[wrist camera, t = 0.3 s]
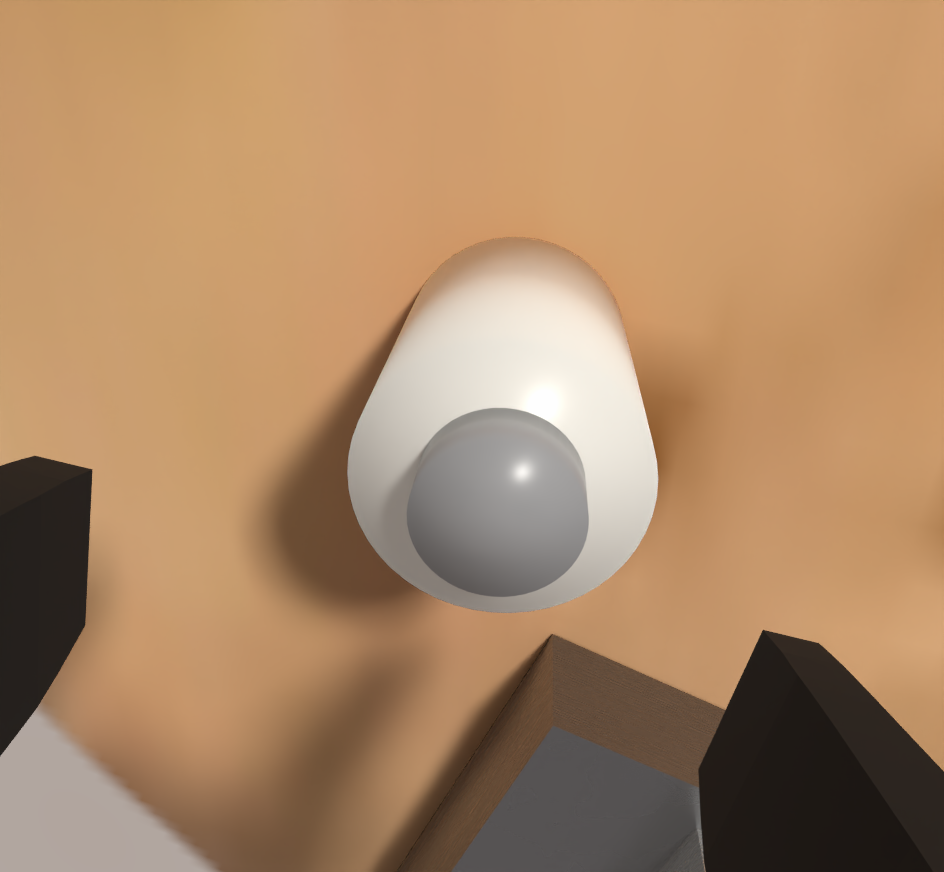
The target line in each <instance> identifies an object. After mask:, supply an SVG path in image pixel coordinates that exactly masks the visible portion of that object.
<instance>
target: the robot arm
mask: <svg viewBox="0 0 944 872" xmlns="http://www.w3.org/2000/svg"><path fill="white" fill-rule="evenodd" d="M91 487H92V469H88V468H84V467H79V466H75V465H71V464H67V463H63V462H59V461H54V460H50V459H46V458H42V457H38V456H32V457H29V458H25V459H21V460H18V461H14V462H11V463H8V464H5V465H2V466H0V755H1V754H2V753H3V752H4V750H5V749H6V748H7V747H8V745H9V744H10V743H11V741H12V740H13V739H14V737H15V736H16V735H17V734H18V732H19V731H20V730H21V728H22V727H23V726H24V724H25V723H26V722H27V720H28V719H29V717H30V716H31V715H32V714H33V712H34V711H35V710H36V708H37V707H38V705H39V704H40V702H41V700H42V699H43V697H44V695H45V694H46V692H47V690H48V689H49V687H50V685H51V684H52V682H53V680H54V679H55V677H56V676H57V674H58V672H59V671H60V669H61V667H62V665H63V664H64V662H65V660H66V658H67V657H68V655H69V653H70V651H71V649H72V648H73V646H74V644H75V642H76V641H77V639H78V637H79V635H80V634H81V632H82V630H83V628H84V627H85V618H86V596H87V574H88V552H89V531H90V509H91ZM698 775H699V796H700V816H701V830H702V843H703V856H704V865H705V870H706V872H944V771H943V770H942V769H941V768H940V767H939V766H938V765H937V764H936V763H935V762H934V761H933V760H932V759H931V758H930V757H929V756H928V754H927V753H926V752H925V751H924V750H923V749H922V748H921V747H920V746H919V745H918V744H917V743H916V742H915V741H914V740H913V739H912V738H911V736H910V735H909V734H908V733H907V732H906V731H905V730H904V729H903V728H902V727H901V726H900V725H899V724H898V723H897V722H896V720H895V719H894V718H893V717H892V716H891V715H890V714H889V713H888V712H887V711H886V710H885V709H884V708H883V707H882V706H881V705H880V704H879V702H878V701H877V700H876V699H875V698H874V697H873V696H872V695H871V694H870V693H869V692H868V691H867V690H866V689H865V688H864V687H863V686H862V685H861V684H860V683H859V682H858V680H857V679H856V678H855V677H854V676H853V675H852V674H851V673H850V672H849V671H848V670H847V669H846V668H845V667H844V666H843V665H842V664H841V663H840V662H839V661H838V660H837V659H836V658H834V657H833V656H832V655H831V654H830V653H829V652H828V651H827V650H826V649H825V648H824V647H822V646H821V645H820V644H819V643H815V642H811V641H807V640H803V639H799V638H794V637H790V636H786V635H782V634H778V633H773V632H769V631H765V630H763V631H762V633H761V635H760V638H759V640H758V642H757V644H756V646H755V648H754V650H753V653H752V655H751V657H750V659H749V661H748V663H747V666H746V668H745V670H744V672H743V674H742V676H741V678H740V681H739V683H738V685H737V687H736V689H735V691H734V693H733V696H732V698H731V700H730V702H729V704H728V706H727V709H726V711H725V713H724V715H723V717H722V719H721V721H720V724H719V726H718V728H717V730H716V732H715V734H714V737H713V739H712V741H711V743H710V745H709V747H708V749H707V752H706V754H705V756H704V758H703V760H702V762H701V764H700V767H699V769H698Z"/></svg>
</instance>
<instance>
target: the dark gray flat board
mask: <svg viewBox="0 0 944 872" xmlns="http://www.w3.org/2000/svg"><path fill="white" fill-rule="evenodd" d="M725 711H726V710H723V709H721V708H719V707H717V706H714V705H712V704H710V703H707V702H705V701H703V700H701V699H698V698H696V697H694V696H692V695H689V694H687V693H685V692H682V691H680V690H678V689H676V688H673V687H671V686H669V685H667V684H664V683H662V682H660V681H658V680H655V679H653V678H651V677H648V676H646V675H644V674H642V673H639V672H637V671H635V670H633V669H630V668H628V667H626V666H623V665H621V664H619V663H617V662H614V661H612V660H610V659H608V658H605V657H603V656H601V655H598V654H596V653H594V652H592V651H589V650H587V649H585V648H583V647H580V646H578V645H576V644H574V643H571V642H569V641H567V640H564V639H562V638H560V637H558V636H555V635H553V634H552V636H551V637H550V639H549V640H548V642H547V643H546V645H545V646H544V648H543V649H542V651H541V653H540V654H539V656H538V657H537V659H536V660H535V662H534V663H533V665H532V666H531V668H530V669H529V671H528V672H527V674H526V675H525V677H524V678H523V680H522V682H521V683H520V685H519V686H518V688H517V689H516V691H515V692H514V694H513V695H512V697H511V698H510V700H509V701H508V703H507V704H506V706H505V707H504V709H503V711H502V712H501V714H500V715H499V717H498V718H497V720H496V721H495V723H494V724H493V726H492V727H491V729H490V730H489V732H488V733H487V735H486V736H485V738H484V740H483V741H482V743H481V744H480V746H479V747H478V749H477V750H476V752H475V753H474V755H473V756H472V758H471V759H470V761H469V762H468V764H467V765H466V767H465V768H464V770H463V772H462V773H461V775H460V776H459V778H458V779H457V781H456V782H455V784H454V785H453V787H452V788H451V790H450V791H449V793H448V794H447V796H446V797H445V799H444V801H443V802H442V804H441V805H440V807H439V808H438V810H437V811H436V813H435V814H434V816H433V817H432V819H431V820H430V822H429V823H428V825H427V826H426V828H425V830H424V831H423V833H422V834H421V836H420V837H419V839H418V840H417V842H416V843H415V845H414V846H413V848H412V849H411V851H410V852H409V854H408V855H407V857H406V859H405V860H404V862H403V863H402V865H401V866H400V868H399V869H398V871H397V872H706V870H705V865H704V856H703V843H702V830H701V816H700V796H699V775H698V769H699V767H700V764H701V762H702V760H703V758H704V756H705V754H706V752H707V749H708V747H709V745H710V743H711V741H712V739H713V737H714V734H715V732H716V730H717V728H718V726H719V724H720V721H721V719H722V717H723V715H724V713H725Z"/></svg>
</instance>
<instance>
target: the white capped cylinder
mask: <svg viewBox="0 0 944 872" xmlns="http://www.w3.org/2000/svg"><path fill="white" fill-rule="evenodd" d="M347 474H348V486H349V493H350V498H351V502H352V506H353V510H354V512H355V515H356V517H357V520H358V523H359V525H360V527H361V529H362V531H363V532H364V534H365V536H366V538H367V540H368V541H369V543H370V544H371V545H372V547H373V548H374V549H375V551H376V552H377V554H378V555H379V556H380V557H381V558H382V559H383V560H384V561H385V562H386V563H387V565H388V566H389V567H390V568H391V569H393V570H394V571H395V572H396V573H397V574H399V575H400V576H401V577H402V578H403V579H404V580H406V581H407V582H409V583H410V584H412V585H414V586H415V587H417V588H418V589H420V590H421V591H423V592H425V593H427V594H429V595H431V596H433V597H435V598H437V599H440V600H443V601H445V602H448V603H451V604H453V605H457V606H461V607H465V608H469V609H472V610H479V611H486V612H499V613H516V612H529V611H535V610H540V609H545V608H550V607H553V606H556V605H559V604H563V603H566V602H568V601H570V600H573V599H575V598H577V597H580V596H582V595H584V594H586V593H587V592H589V591H591V590H592V589H594V588H596V587H598V586H599V585H600V584H602V583H603V582H604V581H606V580H607V579H608V578H610V577H611V576H612V575H613V574H614V573H615V572H616V571H617V570H618V569H619V568H620V567H621V566H623V565H624V564H625V563H626V561H627V560H628V559H629V557H630V556H631V555H632V554H633V552H634V551H635V550H636V548H637V547H638V545H639V543H640V542H641V540H642V538H643V536H644V535H645V533H646V531H647V528H648V526H649V523H650V521H651V518H652V516H653V511H654V507H655V503H656V499H657V488H658V470H657V460H656V455H655V451H654V446H653V442H652V438H651V434H650V430H649V426H648V422H647V418H646V414H645V409H644V405H643V401H642V397H641V393H640V389H639V385H638V381H637V377H636V373H635V369H634V365H633V361H632V357H631V353H630V349H629V345H628V341H627V337H626V333H625V329H624V325H623V321H622V317H621V313H620V310H619V307H618V305H617V302H616V299H615V298H614V296H613V294H612V292H611V290H610V288H609V287H608V285H607V284H606V283H605V281H604V280H603V279H602V277H601V276H600V275H599V274H598V273H597V272H596V271H595V270H594V269H593V268H592V267H591V265H589V264H588V263H587V262H585V261H584V260H583V259H582V258H580V257H579V256H577V255H576V254H574V253H572V252H571V251H569V250H567V249H565V248H563V247H560V246H558V245H556V244H553V243H550V242H546V241H543V240H539V239H533V238H525V237H505V238H498V239H492V240H488V241H484V242H480V243H477V244H475V245H473V246H470V247H468V248H465V249H464V250H462V251H460V252H458V253H457V254H455V255H453V256H452V257H451V258H449V259H448V260H447V261H445V262H444V263H443V264H442V265H441V266H440V267H439V268H438V269H437V270H436V271H435V272H434V273H433V274H432V275H431V276H430V277H429V279H428V280H427V281H426V283H425V284H424V285H423V287H422V289H421V291H420V293H419V294H418V296H417V298H416V300H415V302H414V304H413V306H412V309H411V311H410V313H409V315H408V317H407V319H406V321H405V323H404V326H403V328H402V330H401V332H400V334H399V336H398V338H397V340H396V342H395V345H394V347H393V349H392V351H391V353H390V355H389V357H388V359H387V362H386V364H385V366H384V368H383V370H382V372H381V374H380V376H379V378H378V381H377V383H376V385H375V387H374V389H373V391H372V393H371V395H370V398H369V400H368V402H367V404H366V406H365V408H364V410H363V412H362V414H361V417H360V419H359V421H358V424H357V426H356V429H355V432H354V434H353V437H352V441H351V446H350V450H349V455H348V471H347Z"/></svg>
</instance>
